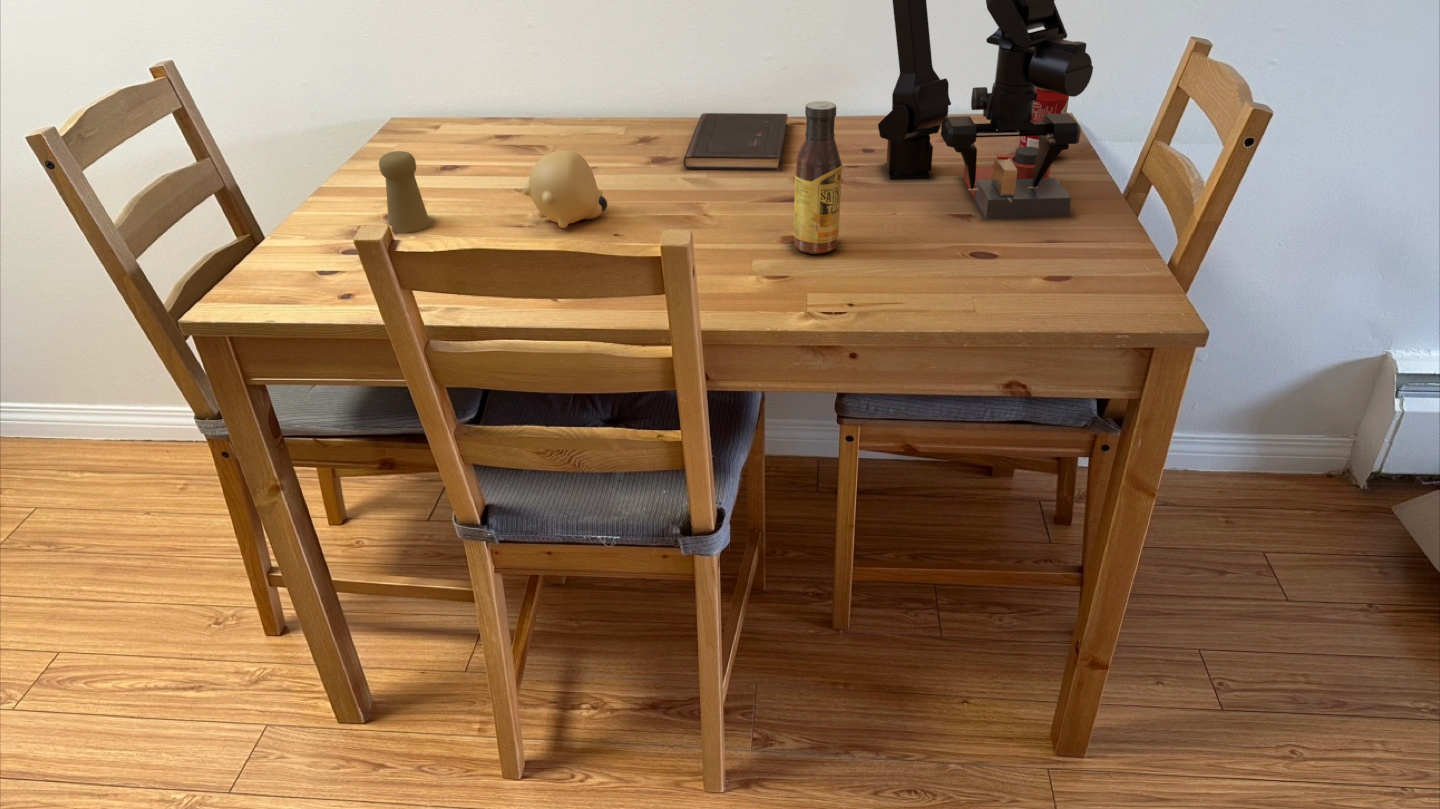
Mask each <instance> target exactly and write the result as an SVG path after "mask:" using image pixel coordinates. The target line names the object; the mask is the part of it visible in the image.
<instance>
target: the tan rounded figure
mask: <svg viewBox="0 0 1440 809" xmlns="http://www.w3.org/2000/svg"><path fill="white" fill-rule="evenodd" d="M522 193H523V194H524V196H529V197H530V198H531V200H532V203H533V204H534V205H535V207H536V208H537V216H538V217H539V218H541V219H545V218H547V219H548V220H550V221H552V222H554V223H557V225H558V227H559V228H561V229H565V228H567V227H568V226H569V225H570V224H574V223H577V222H579V221H581V220H593V219H596V218H597V217H599V216H600V215H602V213H604V212H605V211H607V208H608V200H607V198H606V197H605V196H603V193H604V192H603V190H600V189H599V187H598V185H597V181H596V178H595V175H594V173H593V171H592V169H591V167H590V165H589V163H588V162H587V160H586V159H585V157H584V156H582V155H581V154H579V153H578V152H577V151H576V152H575V151H573V150H566V149H565V150H564V149H563V150H555V151H552V152H549V153H547V154H545V155H544V156H543V155H542V157H541V158H539V160H538V161H537V162H536V163H535V164H534V165H533V167H532V169H531V171H530V173H529V177H528V183H526V184H525V185H524V186H523V187H522Z"/></svg>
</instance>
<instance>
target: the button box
mask: <svg viewBox="0 0 1440 809" xmlns="http://www.w3.org/2000/svg"><path fill="white" fill-rule="evenodd" d="M1007 155H1008V156H1009V158H1010V160H1011V161H1012V163H1013V164H1014V166H1015V167H1016V169H1017V178H1016V179H1033V172H1034V167H1035V165H1025V164H1019V163H1017V162H1015V161H1014V159H1015V152H1013V153H1009V154H1007ZM1051 169H1052V164H1051V165H1050V167H1049V168H1048V170H1047V171H1046V173H1045V174H1044V176H1043V177H1042V178H1051V177H1050V176H1049V175H1050V174H1051ZM992 173H993V165H992V166H991V165H990V166H976V180H975V185H974V189H976V182H977V180H992ZM962 179H963V180H964V182H965V184H966V186H967V187H968V188H967V189H971V188H970V186H969V181H968V177H967V173H966V168H965V167H964V170H963V178H962ZM975 191H976V190H972V191H970V193H971V195H972V197H973V198H975Z"/></svg>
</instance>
